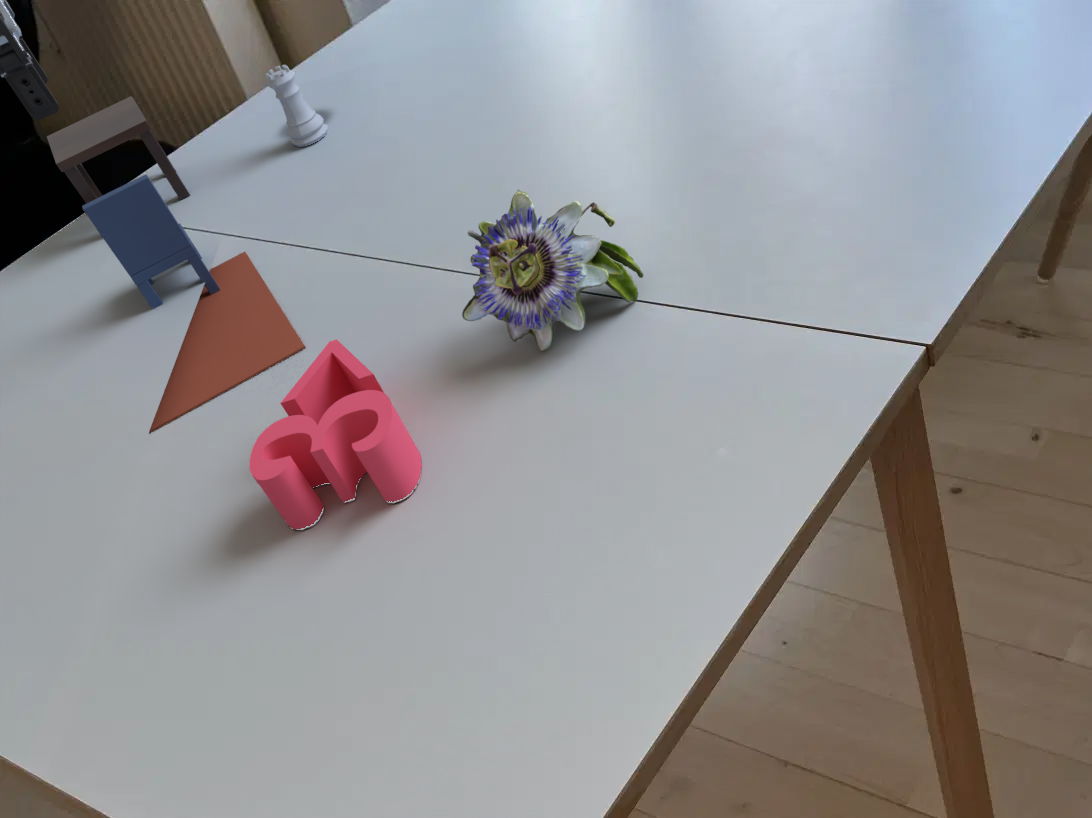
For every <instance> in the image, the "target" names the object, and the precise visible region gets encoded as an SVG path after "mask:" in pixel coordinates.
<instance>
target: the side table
mask: <svg viewBox="0 0 1092 818" xmlns="http://www.w3.org/2000/svg"><path fill="white" fill-rule="evenodd" d="M138 136H139V137H140V139H141V140H142V142H143V144H144V145H145V147H146V148H147V150H148V152H149V154H150V155H151V156H152V158H153V159H154V161H155V162H156V164H157V166H158V167H159V169H160V170H161V172H162V174H163V175H164V177H165V179H166V180H167V181H168V183H169V185H170V187H171V188H172V189H173V191H174V193H175V194H176V195H177V197H178V199H179V200H180V201H181V200H184V199H185V198H187V197H190V196H191V194H190V192H189V191H188V189H187V188H186V185H185V184H184V183H183V180H182V179H181V177H180V176H179V174H178V173H177V170H176V168H175V166H174V165H173V164H172V162H171V160H170V158H169V157H168V155H167V154H166V152H165V151H164V149H163V148H162V146H161V144H160V143H159V141H158V139H157V138H156V137H155V135H154V133H153V132H152V127H151V126H150V124H149V123H148V121H147V119H146V117H145V115H144V114H143V112H142V110H141V109H140V107H139V105H138V104H137V102H136V100H135V99H134V97H133V96H132V95H131V96H128V97H126V98H124V99H121V100H120V101H118V102H116V103H114V104H112V105H110V106H107V107H105V108H103V109H101V110H99V111H97V112H95V113H92V114H91V115H89V116H86V117H84V118H82V119H80V120H79V121H76V122H74V123H72V124H70V125H68V126H65V127H64V128H61V129H59V130H57V131H55V132H53V133H50V134H49V135H46V138H47V141H48V145H49V147H50V150H51V154H52V156H53V158H54V161H55V164H56V166H57V167H58V169H59V170H60V172H61V173H64V174H65V175H66V177H67V178H68V180H69V181H70V182H71V184H72V185H73V187H74V188H75V189H76V191H77V192H78V194H79V195H80V197H81V198H82V200H83V201H84V203H85V204H87V203H89V202H91V201H93V200H95V199H97V198H99V197H101V196H103V195H104V194H102V193H101V191H100V189H99V188H98V186H97V185H96V184H95V182H94V180H93V179H92V177H91V176H90V174H89V173H88V171H87V170H86V168H85V167H84V166H83V165H82V164H83V163H84V162H86V161H89V160H91V159H93V158H94V157H97V156H99V155H101V154H103V153H105V152H107V151H109V150H111V149H113V148H116V147H117V146H119V145H122V144H124V143H126V142H127V141H131V140H132V139H134V138H136V137H138Z"/></svg>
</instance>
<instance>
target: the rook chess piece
mask: <svg viewBox="0 0 1092 818" xmlns="http://www.w3.org/2000/svg"><path fill="white" fill-rule="evenodd" d="M275 70H276V71H274V70H273V68H271V69H269V70H268V71H267V73H265V77H266V79H267V82H266V83H267V84H266V86H267V87H268V88H270V89H272V90H274V92H275V98H276V99H278V101H279V103H280V105H281V107H282V109H283V112H284V115H285V119H286V125H287V128H286V135H288V137H289V138H290V143H291V144H292V145H294V146H296V147H299V148H304V147H309V146H311V144H312V145H314V144H316V143H318V142H320V141H321V140H322V139H323V138H322V137H324V136H325V137H326V135H327V134H328V130H329V129H328V128H329V125H327V124H326V123H324V117H323V116H322V115H320V113H317V112H316V110H314V109H313V108H311V106H310V105H309V103H308V102H307V101H306V100H305V98H304V96H303V94H302V92H301V91H300V88H301V87H300V85H298V84H297V83H296V81H295V76H296V72H294V71H293V70H291V69H290V68H289V66H288V65H287V64H282V65H281V66H280V65H277V66H275ZM326 133H327V134H326ZM325 134H326V135H325ZM325 137H324V138H325ZM321 138H322V139H321ZM320 139H321V140H320ZM319 140H320V141H319ZM317 141H318V142H317ZM315 142H316V143H315ZM313 143H314V144H313ZM308 145H309V146H308Z"/></svg>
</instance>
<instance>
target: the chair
mask: <svg viewBox="0 0 1092 818" xmlns="http://www.w3.org/2000/svg"><path fill="white" fill-rule="evenodd" d="M102 195H103V196H101V197H99V198H97V199H95V200H93V201H91V202H89V203H87V204H86V203H85V204H83V205H82V206H81V208H82V211H83V212H84V213H85V215H86V217H88V219H89V221H90V222H91V223H92V225H93V226H94V227H95V229H96V230H97V232H98V233H99V235H100V236H101V237H102V239H103V240H104V242H105V243H106V245H107V246H108V247H109V249H110V251H112V253H113V254H114V256H115V257H116V259H117V260H118V262H119V263H120V264H121V266H122V267H123V269H124V270H125V271H126V273H127V274H128V276H129V277H130V279H131V280H132V281H133V283H134V284H135V286H136V287H137V289H138V290H139V291H140V293H141V294H142V296H143V298H144V299H145V300H146V301H147V303H148V304H149V306H150V307H151V309H152V310H154V309H155V310H156V309H157V308H159V307H161V306H162V305H164V303H163V300H162V299H161V297H160V296H159V295H158V293H157V291H156V290H155V288H154V287H153V286H152V285H154V284H155V283H154V280H153V278H155V277H157V276H158V275H160V274H162V273H165V272H166V271H168V270H170V269H172V268H174V267H176V266H178V265H180V264H181V263H184V262H186V261H188V263H189V264H190V266H191V267H192V268H193V270H194V272H195V273H196V275H197V276H198V278H199V279H200V281H201V282H202V283H203V286H204V285H205V287H206V288H207V290H208V291H209V293H210V294H211V295H212V294H214V293H216V292H218V291H219V290H220V288H219V286H218V284H217V283H216V281H215V280H214V278H213V277H212V275H211V274H210V272H209V271H210V269H208V267H207V266H206V264H205V263H204V261H203V260H202V259H203V257H202V255H201V253H200V252H199V251H198V249H197V247H196V246H195V244H194V243H193V241H192V239H191V238H190V237H189V234H188V233H187V232H186V230H185V229H184V227H183V226H182V224H181V223H180V222H178V221H177V219H176V217H175V216H174V215H173V213H172V212H171V210H170V208H169V207H168V205H167V204H166V202H165V200H164V199H163V197H162V196H161V193H159V192H158V190H157V188H156V187H155V185H154V183H153V182H152V181H151V179H150V177H149V175H148V174H144V175H141V176H139V177H138V178H136V179H133V180H131V181H129V182H127V183H125V184H123V185H121V186H119V187H116V188H115V189H113V190H111V191H108V192H107V193H105V194H102Z"/></svg>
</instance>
